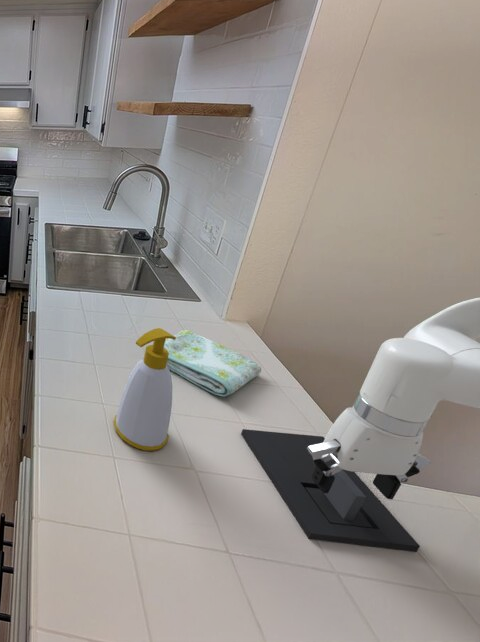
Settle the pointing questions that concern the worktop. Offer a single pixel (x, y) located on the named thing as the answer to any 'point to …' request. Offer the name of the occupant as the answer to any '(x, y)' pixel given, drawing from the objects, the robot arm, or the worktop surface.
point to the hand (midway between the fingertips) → (350, 488)
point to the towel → (209, 363)
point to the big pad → (296, 473)
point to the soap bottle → (147, 396)
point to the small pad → (341, 502)
